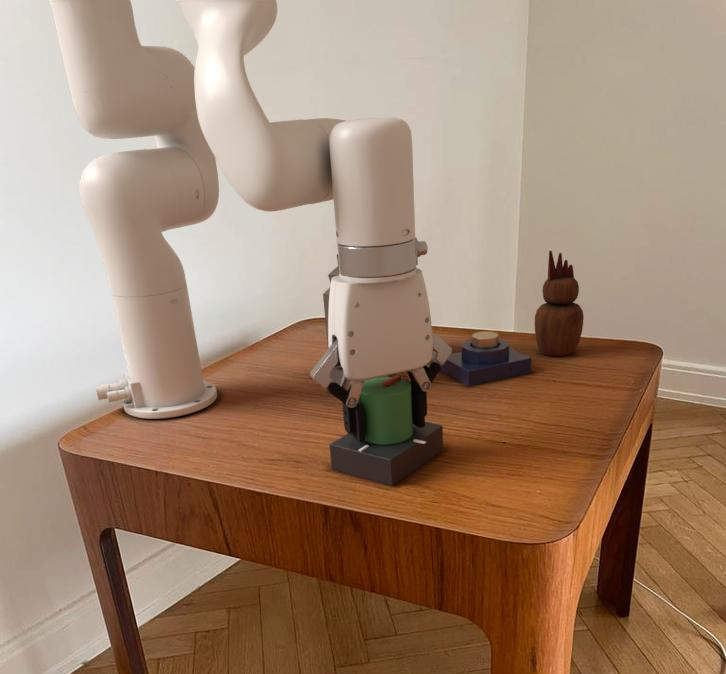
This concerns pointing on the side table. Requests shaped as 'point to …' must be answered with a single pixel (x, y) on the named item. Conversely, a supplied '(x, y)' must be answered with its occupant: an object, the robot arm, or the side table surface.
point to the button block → (486, 364)
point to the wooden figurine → (559, 311)
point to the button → (485, 340)
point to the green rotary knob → (387, 410)
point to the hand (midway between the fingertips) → (386, 429)
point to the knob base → (387, 455)
